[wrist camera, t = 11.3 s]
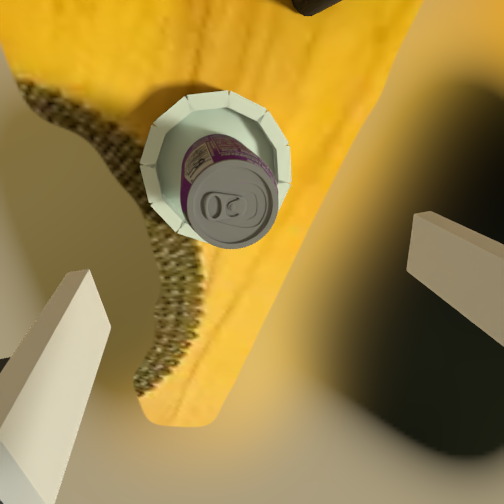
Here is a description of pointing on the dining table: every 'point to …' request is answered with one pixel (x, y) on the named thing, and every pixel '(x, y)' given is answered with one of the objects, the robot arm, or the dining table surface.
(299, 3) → the camera
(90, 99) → the dining table surface
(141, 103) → the dining table surface
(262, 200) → the beverage can
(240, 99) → the tray
